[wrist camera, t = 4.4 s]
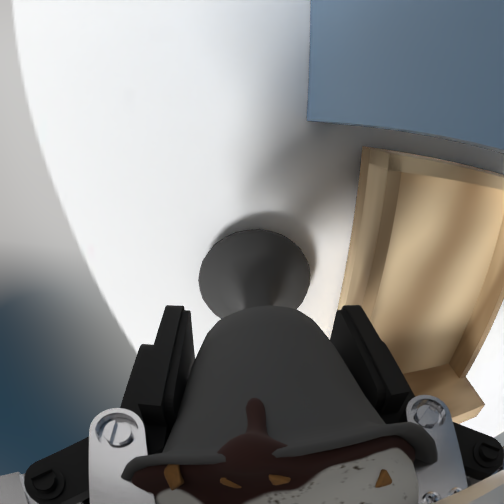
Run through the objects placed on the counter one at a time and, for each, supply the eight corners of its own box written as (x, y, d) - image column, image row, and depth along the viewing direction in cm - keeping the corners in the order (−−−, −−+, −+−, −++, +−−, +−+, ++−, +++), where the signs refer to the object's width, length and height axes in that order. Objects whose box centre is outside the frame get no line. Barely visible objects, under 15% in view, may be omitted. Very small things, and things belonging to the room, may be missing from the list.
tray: (506, 175, 13) (572, 204, 8) (443, 366, 18) (476, 416, 14) (362, 146, 12) (436, 168, 7) (317, 388, 17) (338, 458, 13)
